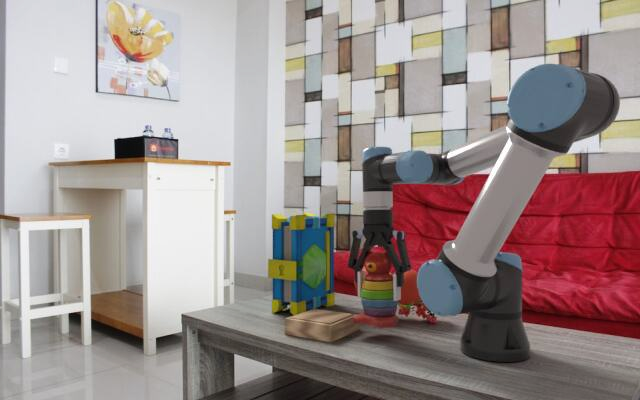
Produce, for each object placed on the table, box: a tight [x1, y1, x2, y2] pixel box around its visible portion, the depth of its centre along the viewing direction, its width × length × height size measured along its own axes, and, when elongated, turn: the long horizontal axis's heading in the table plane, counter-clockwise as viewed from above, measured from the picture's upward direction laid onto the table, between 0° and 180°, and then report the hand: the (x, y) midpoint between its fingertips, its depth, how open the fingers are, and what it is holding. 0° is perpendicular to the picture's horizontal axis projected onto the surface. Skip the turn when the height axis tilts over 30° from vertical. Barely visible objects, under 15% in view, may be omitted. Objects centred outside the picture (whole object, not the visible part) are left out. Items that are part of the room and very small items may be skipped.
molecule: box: [353, 266, 438, 324], centre depth 147 cm, size 25×11×15 cm, turn 67°
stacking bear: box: [353, 250, 399, 329], centre depth 129 cm, size 11×10×18 cm
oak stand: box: [284, 308, 360, 343], centre depth 133 cm, size 14×14×4 cm
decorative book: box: [267, 212, 336, 316], centre depth 160 cm, size 14×23×30 cm, turn 145°
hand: (379, 298), depth 129 cm, fingers closed on stacking bear, 9 cm apart
